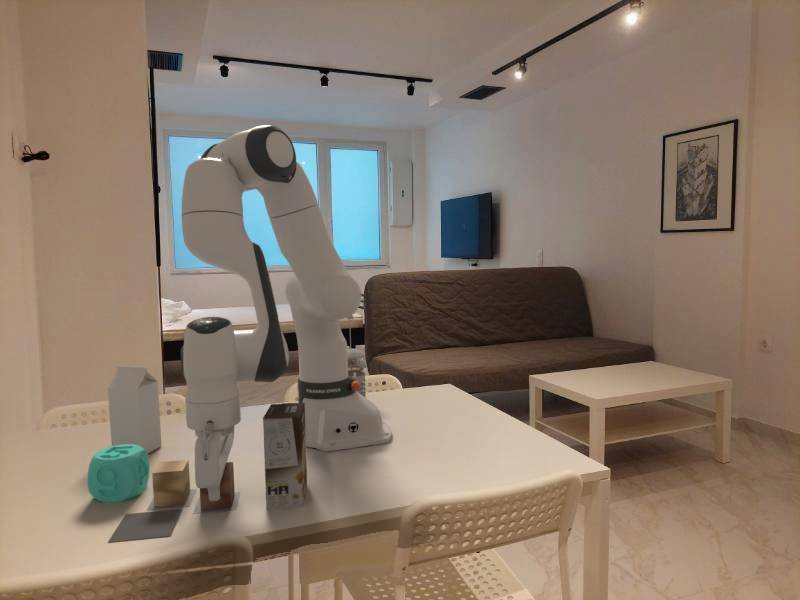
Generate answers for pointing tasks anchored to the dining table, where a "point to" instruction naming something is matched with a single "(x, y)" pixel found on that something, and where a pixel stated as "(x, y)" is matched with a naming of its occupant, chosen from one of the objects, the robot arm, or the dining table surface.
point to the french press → (358, 369)
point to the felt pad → (146, 525)
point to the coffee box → (285, 455)
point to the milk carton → (134, 408)
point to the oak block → (171, 483)
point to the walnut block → (226, 491)
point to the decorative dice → (118, 473)
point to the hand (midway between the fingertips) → (217, 490)
